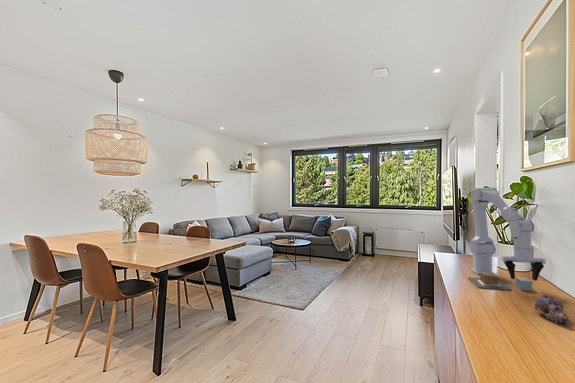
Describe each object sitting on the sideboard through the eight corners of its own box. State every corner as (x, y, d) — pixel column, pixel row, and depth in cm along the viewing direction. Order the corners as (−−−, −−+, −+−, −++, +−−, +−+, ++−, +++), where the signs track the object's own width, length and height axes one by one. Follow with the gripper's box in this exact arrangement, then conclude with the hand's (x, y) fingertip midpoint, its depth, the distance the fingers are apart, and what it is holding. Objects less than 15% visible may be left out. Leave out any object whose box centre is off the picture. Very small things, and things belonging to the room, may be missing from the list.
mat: (468, 278, 129) (468, 277, 129) (498, 280, 125) (498, 279, 125) (478, 288, 116) (478, 286, 116) (512, 290, 112) (511, 289, 112)
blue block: (515, 286, 117) (515, 277, 117) (527, 287, 116) (526, 278, 116) (520, 289, 113) (520, 280, 113) (532, 290, 112) (531, 281, 112)
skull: (577, 329, 80) (576, 308, 80) (543, 323, 84) (542, 304, 84) (561, 313, 91) (560, 295, 91) (531, 309, 94) (531, 292, 94)
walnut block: (480, 280, 123) (480, 272, 124) (493, 281, 122) (493, 272, 122) (484, 284, 119) (484, 275, 119) (497, 285, 117) (497, 276, 117)
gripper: (505, 248, 113) (507, 280, 113) (549, 250, 109) (550, 283, 108) (499, 245, 120) (500, 275, 120) (539, 246, 115) (541, 278, 115)
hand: (523, 279), depth 114 cm, fingers open, 7 cm apart
